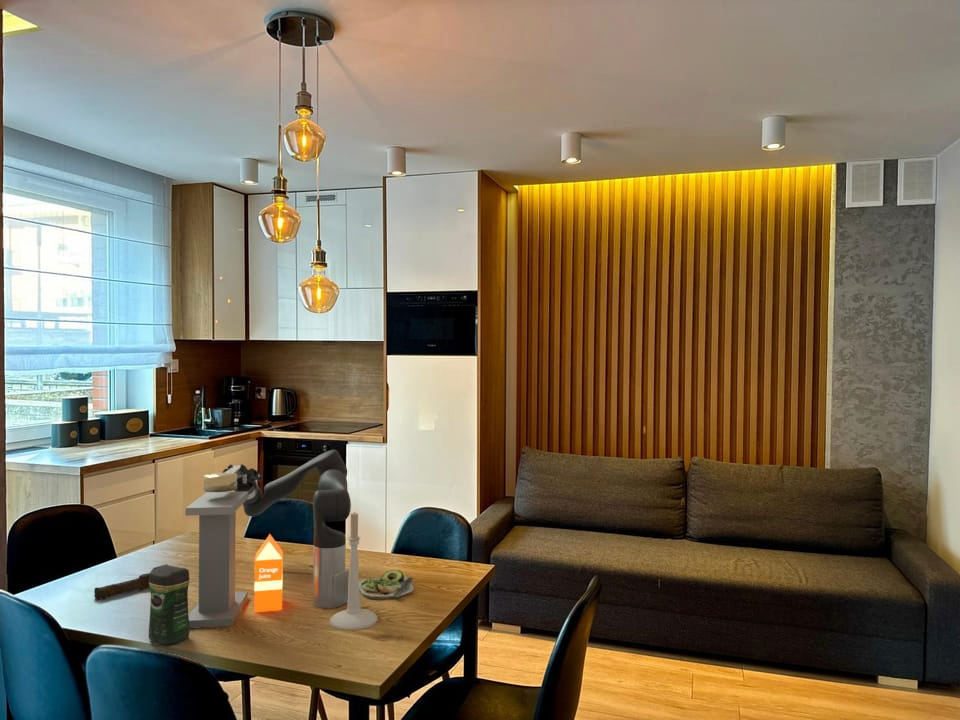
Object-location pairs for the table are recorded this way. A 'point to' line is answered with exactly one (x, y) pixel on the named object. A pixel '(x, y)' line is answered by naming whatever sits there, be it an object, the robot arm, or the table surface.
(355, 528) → the candlestick
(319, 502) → the robot arm
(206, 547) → the shelf
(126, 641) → the table surface
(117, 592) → the hand tool
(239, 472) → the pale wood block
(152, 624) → the coffee jar
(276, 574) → the orange juice
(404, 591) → the avocado toast plate
